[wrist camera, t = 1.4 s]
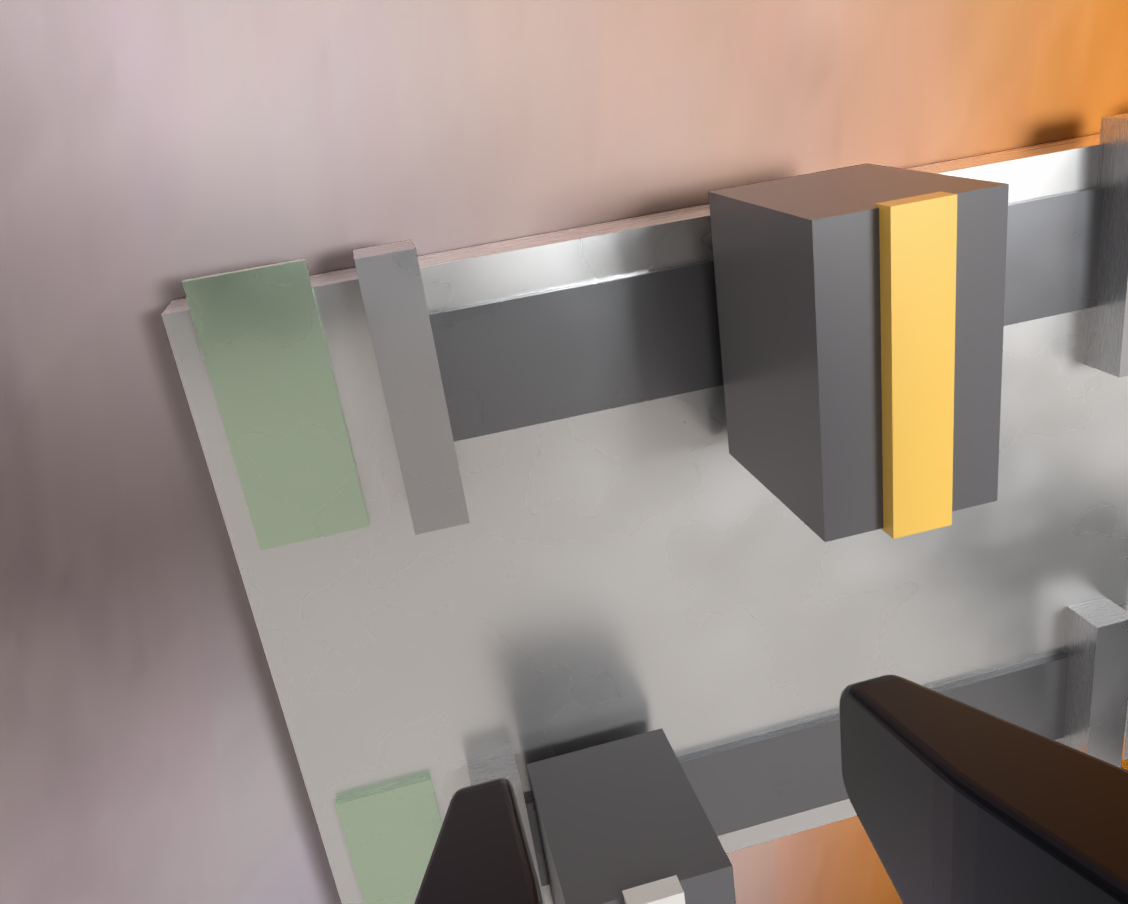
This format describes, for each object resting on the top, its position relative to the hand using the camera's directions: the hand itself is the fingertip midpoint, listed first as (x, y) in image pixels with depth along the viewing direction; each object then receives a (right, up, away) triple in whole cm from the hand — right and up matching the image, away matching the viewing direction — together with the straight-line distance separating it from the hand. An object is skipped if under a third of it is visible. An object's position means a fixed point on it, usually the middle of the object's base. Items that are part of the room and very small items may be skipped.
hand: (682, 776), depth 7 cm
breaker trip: (+3, +5, +11) cm, 12 cm away
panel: (+4, +1, +14) cm, 15 cm away
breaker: (0, -6, +14) cm, 15 cm away
